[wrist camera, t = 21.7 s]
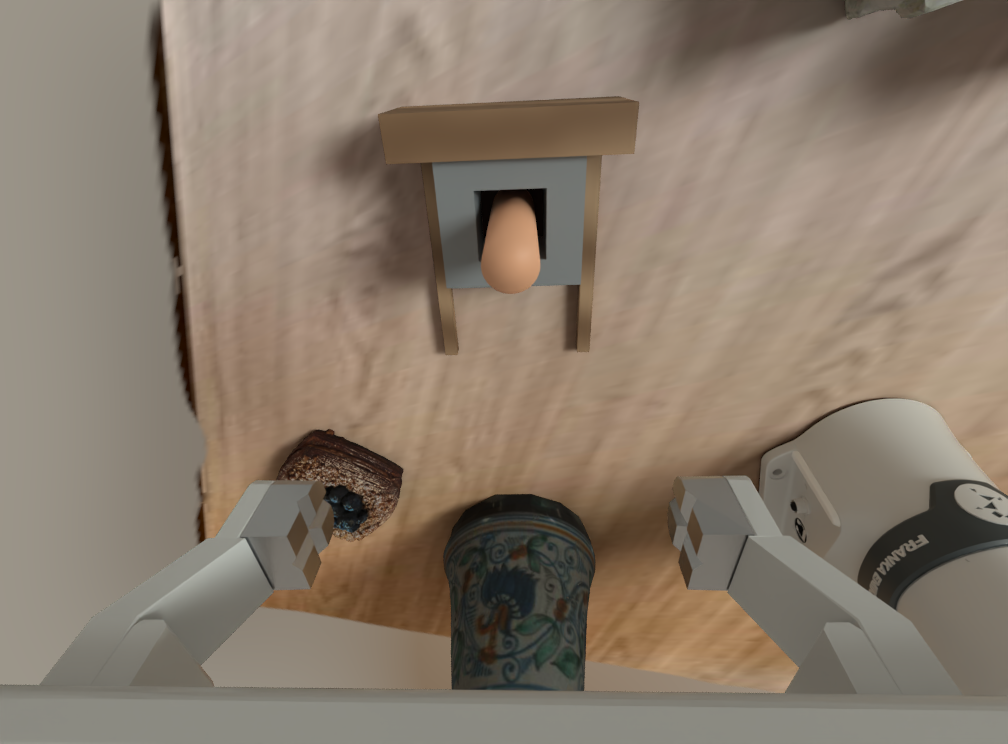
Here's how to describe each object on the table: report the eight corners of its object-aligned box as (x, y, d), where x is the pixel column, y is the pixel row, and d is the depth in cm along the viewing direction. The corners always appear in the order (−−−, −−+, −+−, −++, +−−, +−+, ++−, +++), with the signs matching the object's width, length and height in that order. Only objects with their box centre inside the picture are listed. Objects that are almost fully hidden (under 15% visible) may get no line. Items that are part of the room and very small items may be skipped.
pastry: (310, 416, 45) (285, 458, 40) (420, 468, 48) (409, 513, 44) (273, 482, 50) (246, 527, 45) (375, 525, 54) (360, 571, 49)
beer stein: (565, 474, 48) (602, 789, 27) (614, 581, 58) (668, 874, 37) (422, 511, 52) (355, 814, 31) (490, 606, 61) (475, 886, 40)
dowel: (534, 227, 34) (540, 292, 24) (493, 228, 35) (482, 294, 24) (533, 184, 33) (540, 235, 23) (491, 186, 33) (478, 237, 23)
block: (573, 259, 35) (580, 284, 31) (455, 262, 36) (446, 288, 32) (578, 142, 31) (587, 153, 27) (443, 147, 32) (431, 159, 27)
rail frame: (599, 345, 40) (611, 385, 35) (435, 349, 40) (423, 389, 35) (618, 96, 30) (639, 102, 25) (401, 106, 30) (377, 114, 25)
